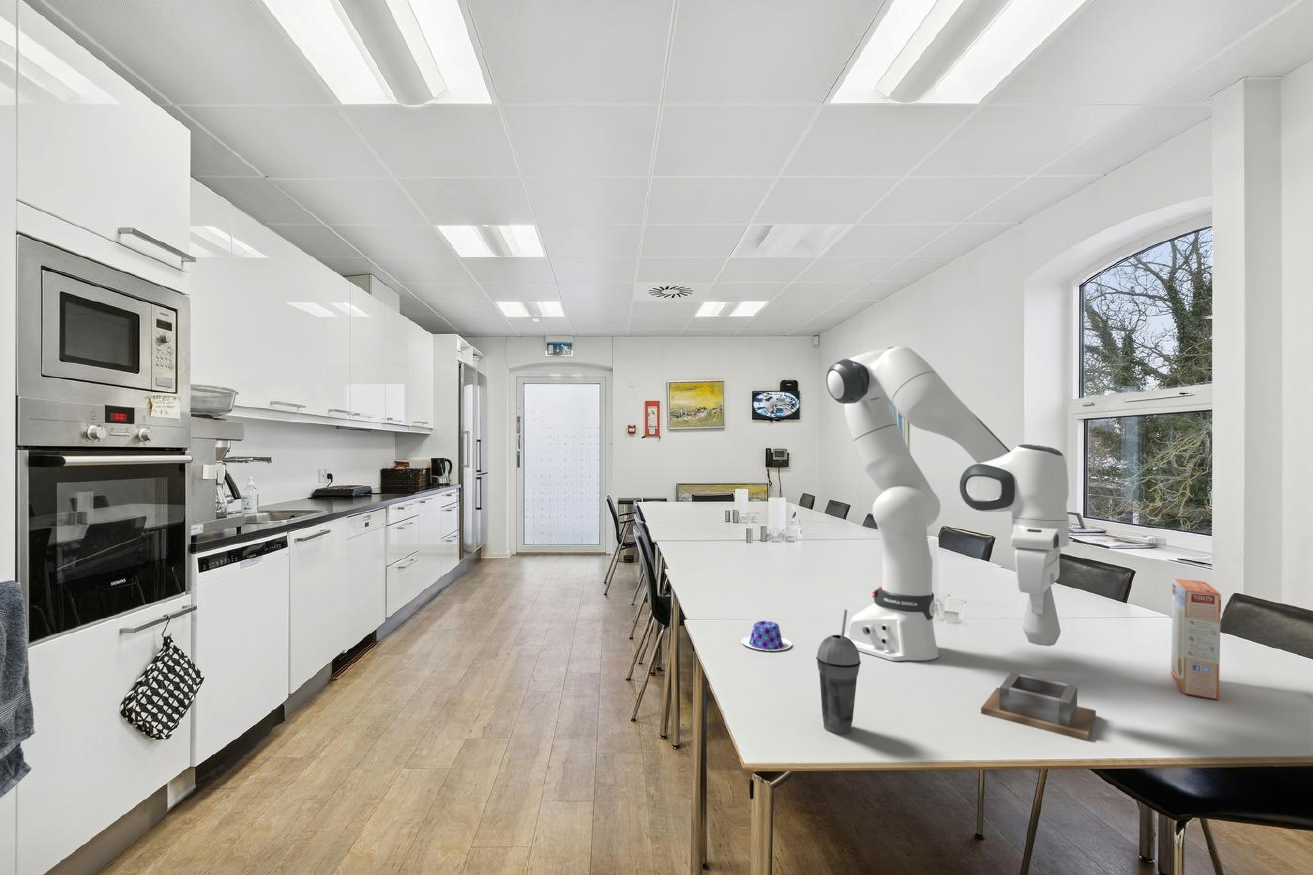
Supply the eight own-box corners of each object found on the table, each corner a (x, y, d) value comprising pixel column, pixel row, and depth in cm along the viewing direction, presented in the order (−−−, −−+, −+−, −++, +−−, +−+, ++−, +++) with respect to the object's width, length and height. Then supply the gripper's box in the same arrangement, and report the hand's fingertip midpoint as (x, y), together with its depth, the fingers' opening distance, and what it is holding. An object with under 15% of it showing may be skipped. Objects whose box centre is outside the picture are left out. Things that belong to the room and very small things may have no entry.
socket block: (981, 713, 114) (981, 685, 114) (997, 692, 124) (997, 666, 124) (1087, 740, 104) (1088, 710, 104) (1095, 715, 114) (1096, 688, 114)
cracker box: (1221, 701, 122) (1222, 593, 122) (1181, 694, 125) (1182, 588, 125) (1206, 679, 134) (1207, 580, 134) (1170, 673, 137) (1171, 577, 137)
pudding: (741, 636, 159) (741, 615, 159) (789, 639, 157) (789, 618, 157) (741, 652, 147) (741, 629, 147) (793, 655, 145) (794, 632, 145)
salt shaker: (1050, 638, 117) (1049, 567, 117) (1067, 648, 111) (1066, 573, 111) (1016, 637, 117) (1016, 567, 117) (1031, 646, 111) (1031, 572, 112)
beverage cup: (809, 719, 110) (811, 604, 111) (849, 718, 111) (851, 604, 111) (823, 738, 103) (825, 615, 103) (867, 737, 104) (868, 615, 104)
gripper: (1030, 527, 124) (1030, 598, 124) (1008, 538, 109) (1008, 618, 108) (1068, 530, 120) (1068, 603, 120) (1051, 541, 105) (1051, 625, 104)
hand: (1040, 610), depth 114 cm, fingers closed on salt shaker, 4 cm apart
